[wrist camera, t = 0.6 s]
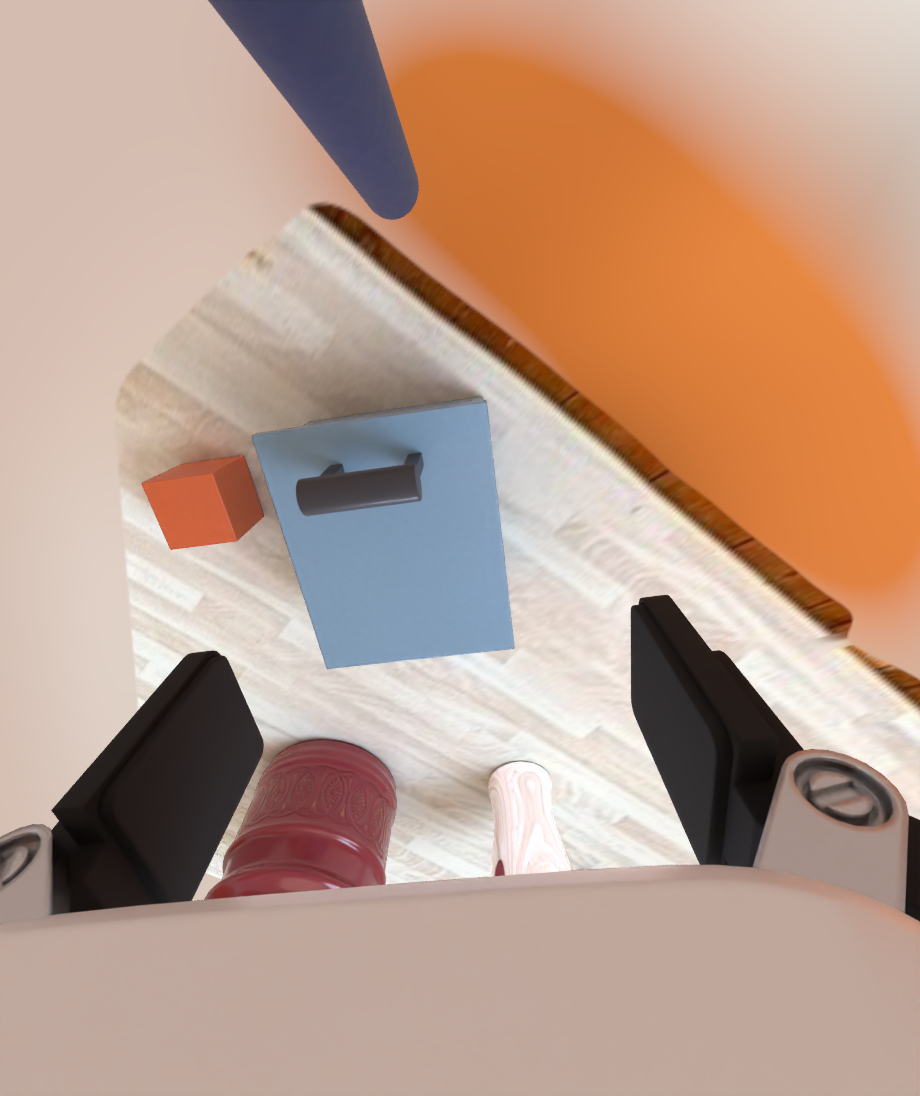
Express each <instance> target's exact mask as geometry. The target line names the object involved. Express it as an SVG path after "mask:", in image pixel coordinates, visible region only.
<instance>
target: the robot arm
mask: <svg viewBox="0 0 920 1096" xmlns="http://www.w3.org/2000/svg"><path fill="white" fill-rule="evenodd" d="M631 702H632V708H633V712H634V715H635V718H636V720H637V723H638V725H639V727H640V729H641V732H642V734H643V736H644V739H645V741H646V743H647V745H648V748H649V750H650V752H651V755H652V757H653V759H654V761H655V764H656V766H657V768H658V771H659V773H660V775H661V777H662V780H663V782H664V784H665V787H666V789H667V791H668V793H669V796H670V798H671V800H672V802H673V805H674V807H675V809H676V812H677V814H678V816H679V818H680V821H681V823H682V825H683V828H684V830H685V832H686V834H687V837H688V839H689V841H690V844H691V846H692V848H693V850H694V853H695V855H696V857H697V859H698V861H699V864H700V865H659V866H642V867H624V868H606V869H589V870H571V871H558V872H545V873H531V874H518V875H505V876H491V877H478V878H465V879H452V880H438V881H425V882H413V883H400V884H388V885H375V886H363V887H351V888H338V889H326V890H314V891H302V892H290V893H278V894H265V895H254V896H243V897H231V898H220V899H208V900H197V901H192V899H193V897H194V895H195V893H196V891H197V889H198V886H199V884H200V882H201V880H202V878H203V876H204V874H205V872H206V870H207V868H208V866H209V864H210V862H211V860H212V858H213V855H214V853H215V851H216V849H217V847H218V845H219V843H220V841H221V839H222V837H223V835H224V833H225V831H226V829H227V827H228V824H229V822H230V820H231V818H232V816H233V814H234V812H235V810H236V808H237V806H238V804H239V802H240V800H241V798H242V796H243V794H244V791H245V789H246V787H247V785H248V783H249V781H250V779H251V777H252V775H253V773H254V771H255V769H256V767H257V765H258V763H259V760H260V758H261V756H262V754H263V747H264V744H263V739H262V736H261V734H260V732H259V730H258V727H257V725H256V723H255V721H254V718H253V716H252V714H251V711H250V709H249V707H248V705H247V702H246V700H245V698H244V696H243V693H242V691H241V689H240V687H239V684H238V682H237V680H236V677H235V675H234V673H233V671H232V668H231V666H230V664H229V662H228V660H227V658H226V657H225V656H221V655H220V654H219V653H218V652H217V651H205V652H197V653H190V654H188V655H186V656H185V657H184V658H183V660H182V661H181V662H180V663H179V664H178V665H177V666H176V668H175V669H174V670H173V671H172V672H171V673H170V674H169V676H168V677H167V678H166V679H165V680H164V681H163V683H162V684H161V685H160V686H159V687H158V688H157V689H156V691H155V692H154V693H153V694H152V695H151V696H150V697H149V699H148V700H147V701H146V702H145V703H144V704H143V706H142V707H141V708H140V709H139V710H138V711H137V712H136V714H135V715H134V716H133V717H132V718H131V719H130V720H129V722H128V723H127V724H126V725H125V726H124V728H123V729H122V730H121V731H120V732H119V733H118V734H117V735H116V737H115V738H114V739H113V740H112V741H111V742H110V744H109V745H108V746H107V747H106V748H105V749H104V751H103V752H102V753H101V754H100V755H99V756H98V758H96V760H95V761H94V762H93V763H92V764H91V765H90V767H89V768H88V769H87V770H86V771H85V772H84V773H83V775H82V776H81V777H80V778H79V779H78V780H77V781H76V783H75V784H74V785H73V786H72V787H71V788H70V790H69V791H68V792H67V793H66V794H65V795H64V796H63V798H62V799H61V800H60V801H59V802H58V803H57V804H56V806H55V807H54V808H53V809H52V812H53V813H54V815H55V816H56V817H57V819H58V820H59V822H58V823H57V825H56V826H55V827H54V828H53V829H52V830H51V829H50V828H49V827H46V826H45V825H43V824H34V825H33V824H32V825H29V826H25V827H21V828H19V829H16V830H14V831H12V832H9V833H8V834H5V835H3V836H1V837H0V1096H920V820H918V819H916V818H914V817H912V816H909V815H908V810H907V805H906V802H905V800H904V799H903V797H902V796H901V794H900V792H899V791H898V789H897V788H896V787H895V786H894V785H893V784H892V783H891V782H890V781H889V780H888V779H887V778H886V777H885V776H883V775H882V774H881V773H879V772H878V771H876V770H875V769H873V768H872V767H870V766H869V765H867V764H866V763H863V762H861V761H859V760H857V759H854V758H852V757H850V756H848V755H844V754H840V753H837V752H833V751H829V750H817V749H810V750H803V748H802V747H801V746H800V745H799V743H798V742H797V741H796V740H795V738H794V737H793V736H792V735H791V734H790V732H789V731H788V730H787V729H786V727H785V726H784V725H783V724H782V722H781V721H780V720H779V719H778V717H777V716H776V715H775V714H774V712H773V711H772V710H771V709H770V707H769V706H768V705H767V704H766V703H765V701H764V700H763V699H762V698H761V696H760V695H759V694H758V693H757V691H756V690H755V689H754V688H753V686H752V685H751V684H750V683H749V681H748V680H747V679H746V678H745V677H744V675H743V674H742V673H741V672H740V670H739V669H738V668H737V667H736V665H735V664H734V663H733V662H732V660H731V659H730V658H729V657H728V656H727V655H726V654H725V653H724V652H722V651H719V650H718V651H711V649H710V648H709V647H708V645H707V644H706V643H705V642H704V640H703V639H702V638H701V636H700V635H699V634H698V632H697V631H696V630H695V629H694V627H693V626H692V625H691V623H690V622H689V621H688V619H687V618H686V617H685V616H684V614H683V613H682V612H681V610H680V609H679V608H678V606H677V605H676V604H675V603H674V601H673V600H672V599H671V597H670V596H668V595H661V596H653V597H645V598H641V599H640V600H639V605H634V606H632V607H631Z"/></svg>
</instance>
